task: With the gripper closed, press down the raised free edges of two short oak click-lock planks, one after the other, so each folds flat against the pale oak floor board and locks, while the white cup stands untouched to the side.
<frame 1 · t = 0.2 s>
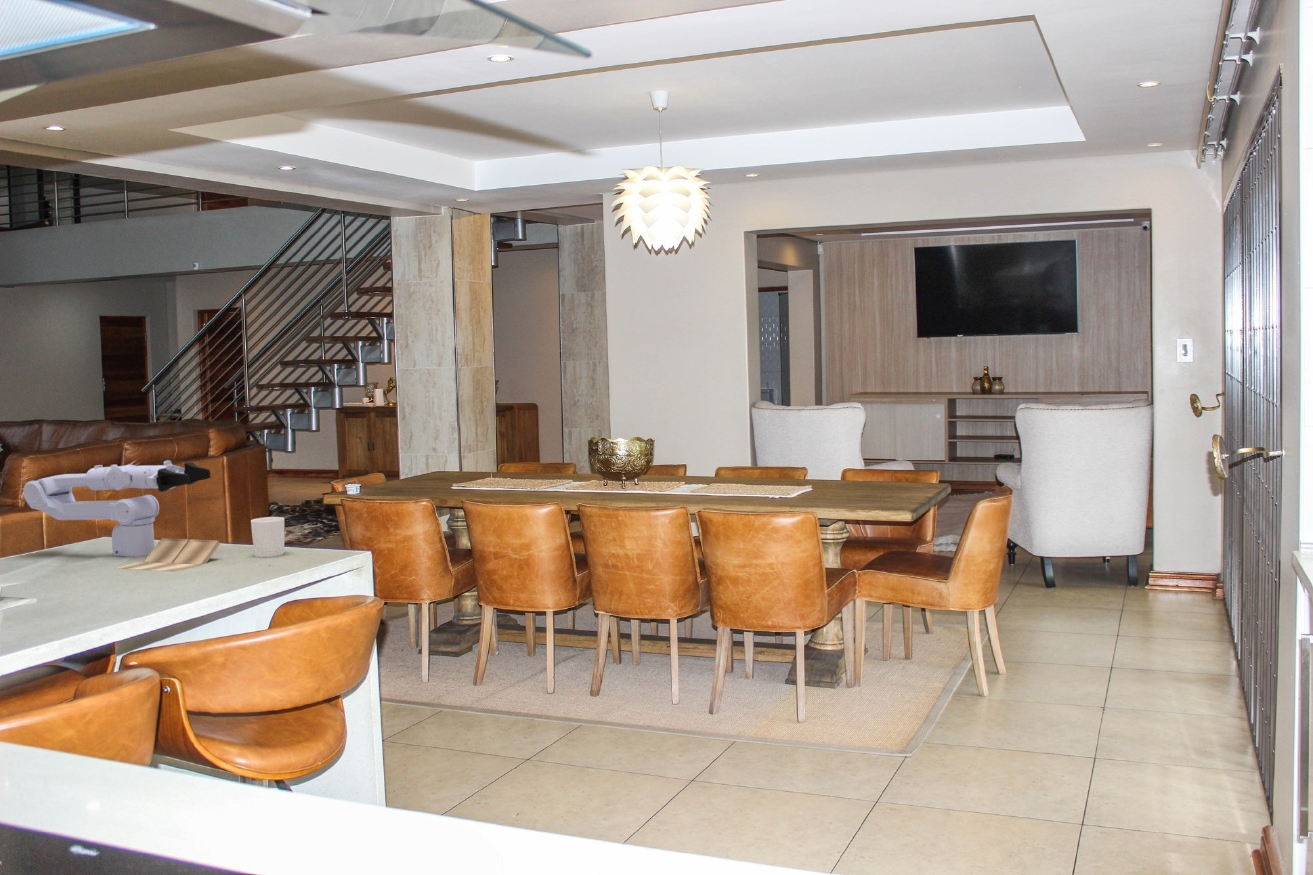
hand: (198, 476, 279), 21 cm above the table, tool horizontal, fingers open, 7 cm apart
floor board: (158, 571, 269), on the table
white cup: (269, 560, 282), on the table
plank b: (196, 553, 275), point 3 cm above the table, hinge at 35.0°
plank a: (167, 552, 278), point 3 cm above the table, hinge at 35.0°
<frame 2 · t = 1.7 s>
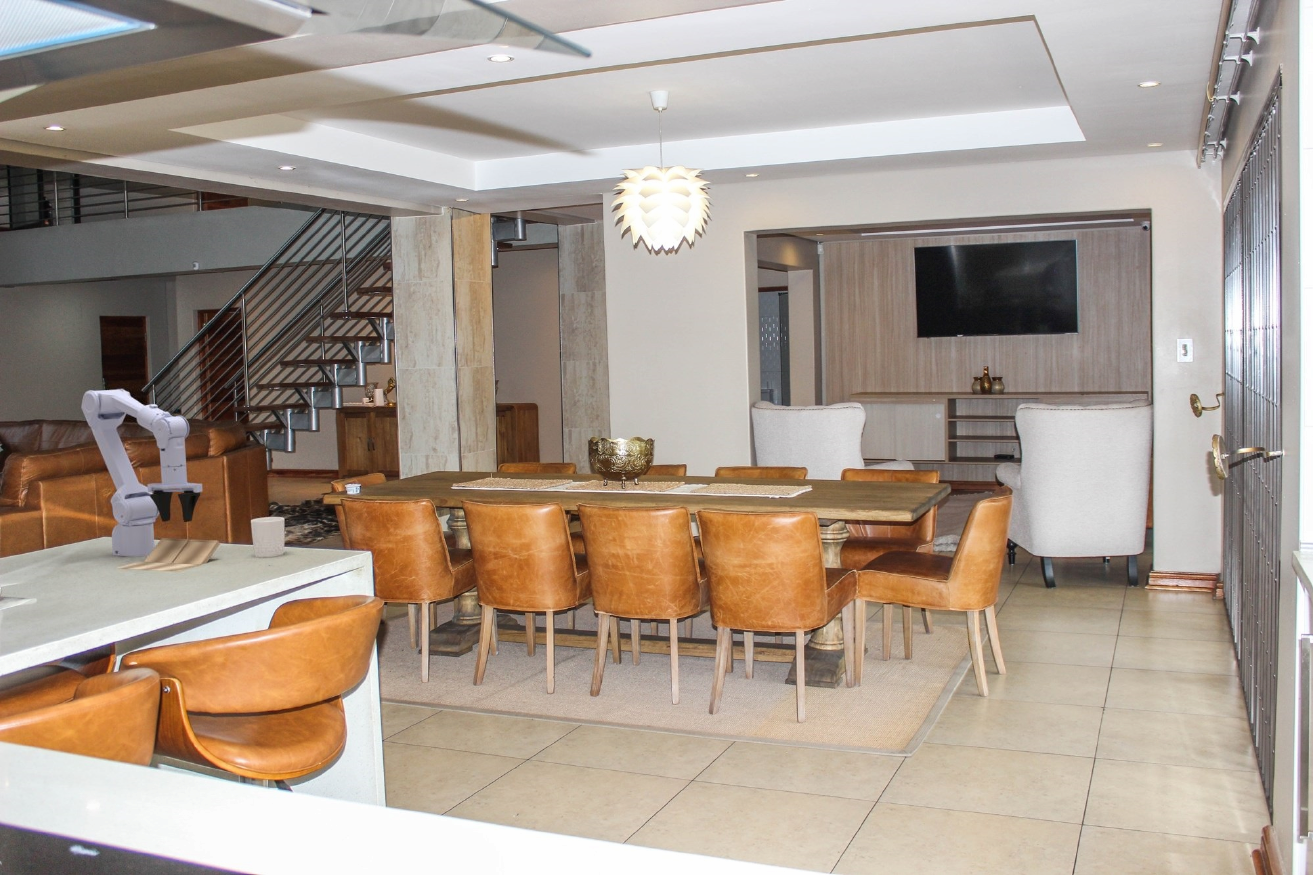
hand: (177, 521, 278), 10 cm above the table, tool pointing down, fingers open, 6 cm apart
nothing on the table moved.
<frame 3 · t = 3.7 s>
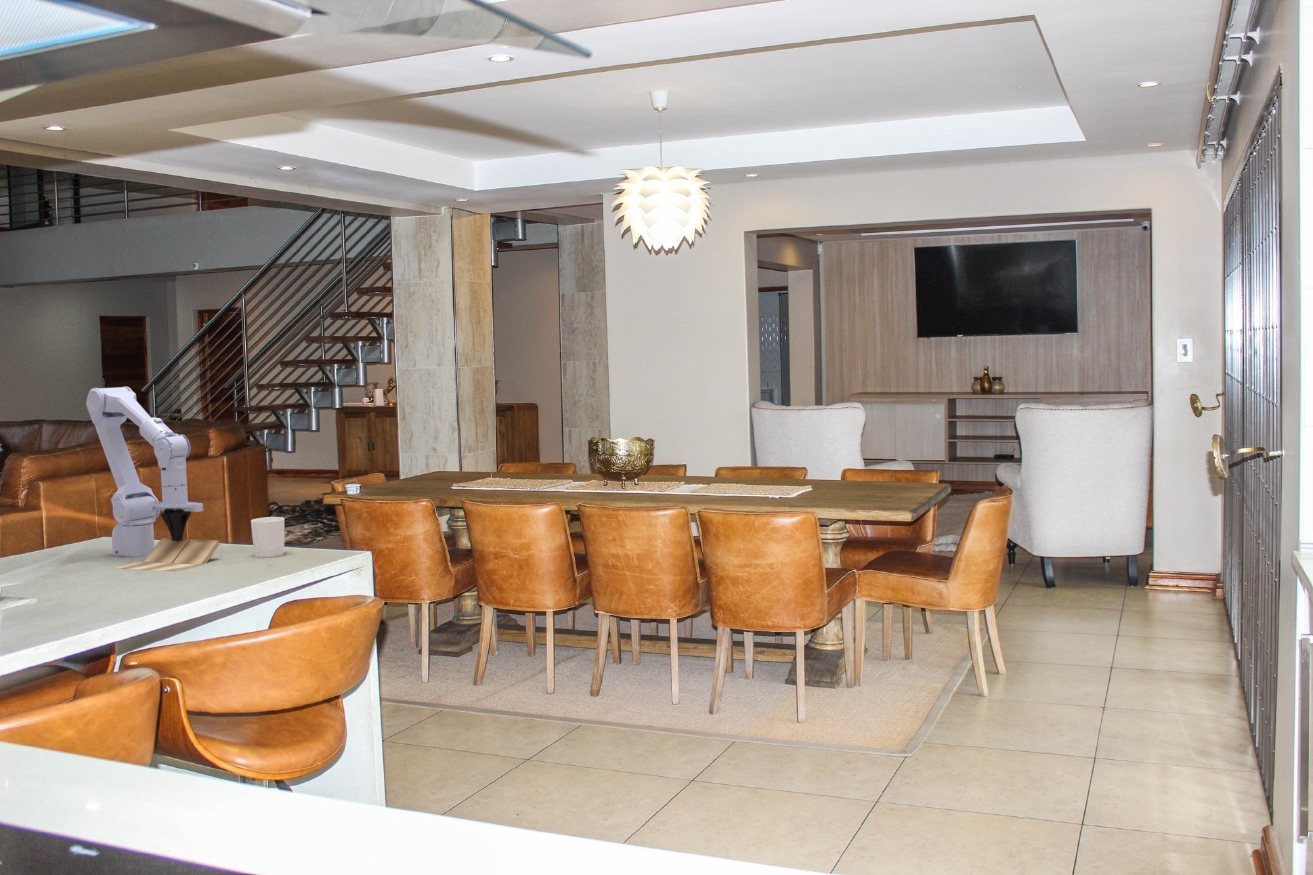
hand: (177, 540, 279), 6 cm above the table, tool pointing down, fingers closed, pressing on plank a
plank a: (167, 552, 278), point 3 cm above the table, hinge at 34.8°, touching gripper
everything else where it was.
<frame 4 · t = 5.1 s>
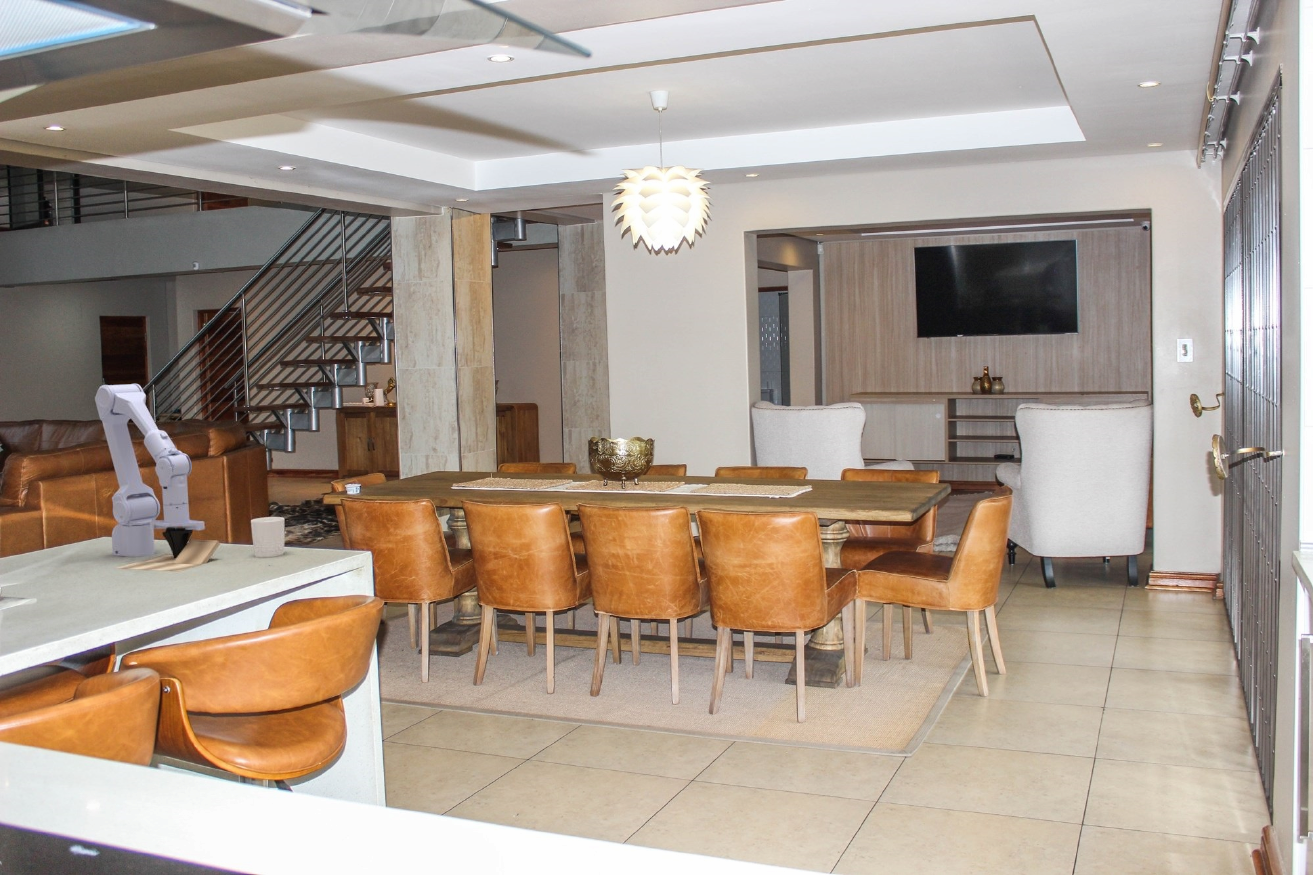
hand: (179, 558, 279), 1 cm above the table, tool pointing down, fingers closed, pressing on plank a
plank a: (169, 560, 278), point 1 cm above the table, hinge at 2.3°, touching gripper
everything else where it was.
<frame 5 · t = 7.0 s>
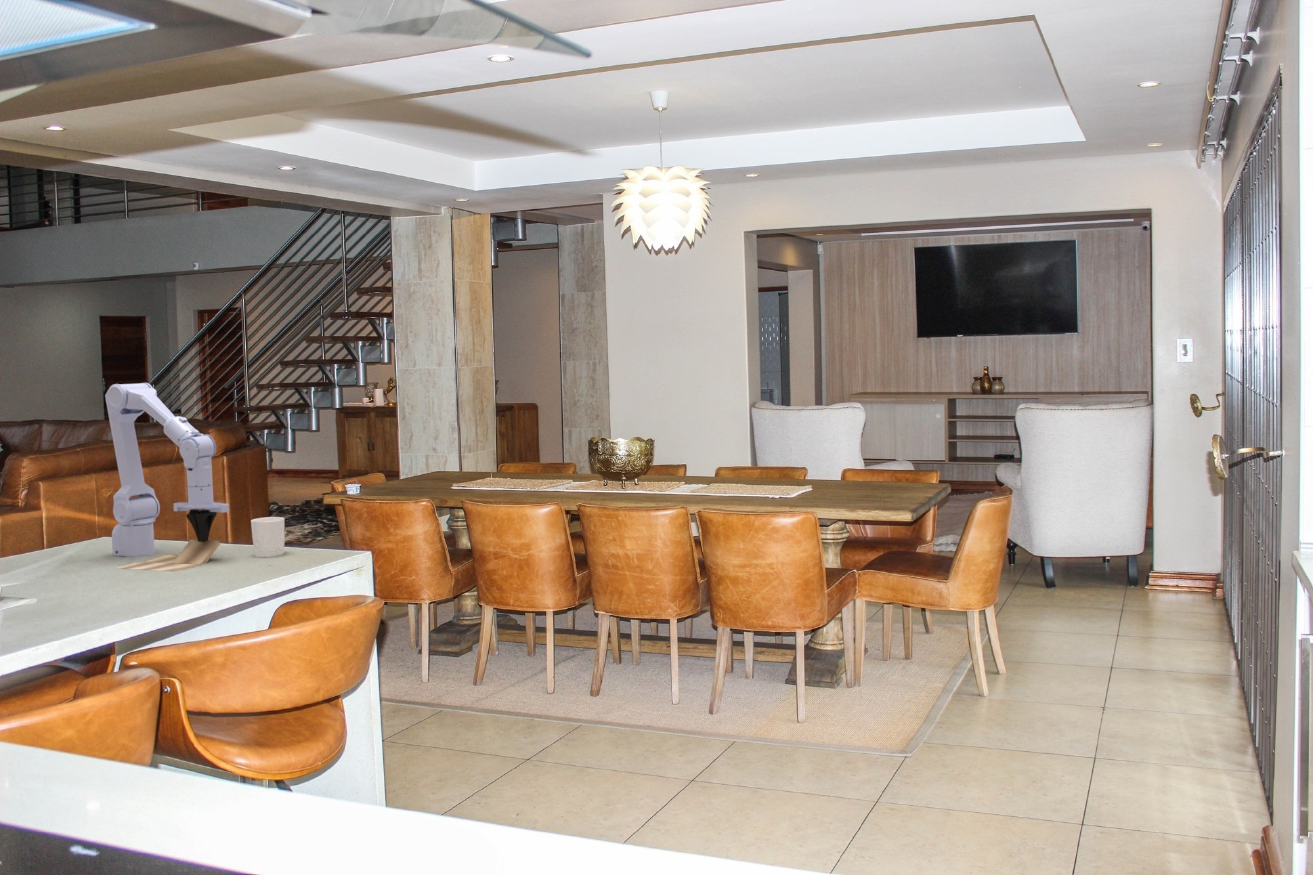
hand: (203, 541, 277), 6 cm above the table, tool pointing down, fingers closed, pressing on plank b
plank b: (196, 553, 275), point 3 cm above the table, hinge at 34.9°, touching gripper
plank a: (169, 560, 278), point 1 cm above the table, hinge at 2.2°
everything else where it was.
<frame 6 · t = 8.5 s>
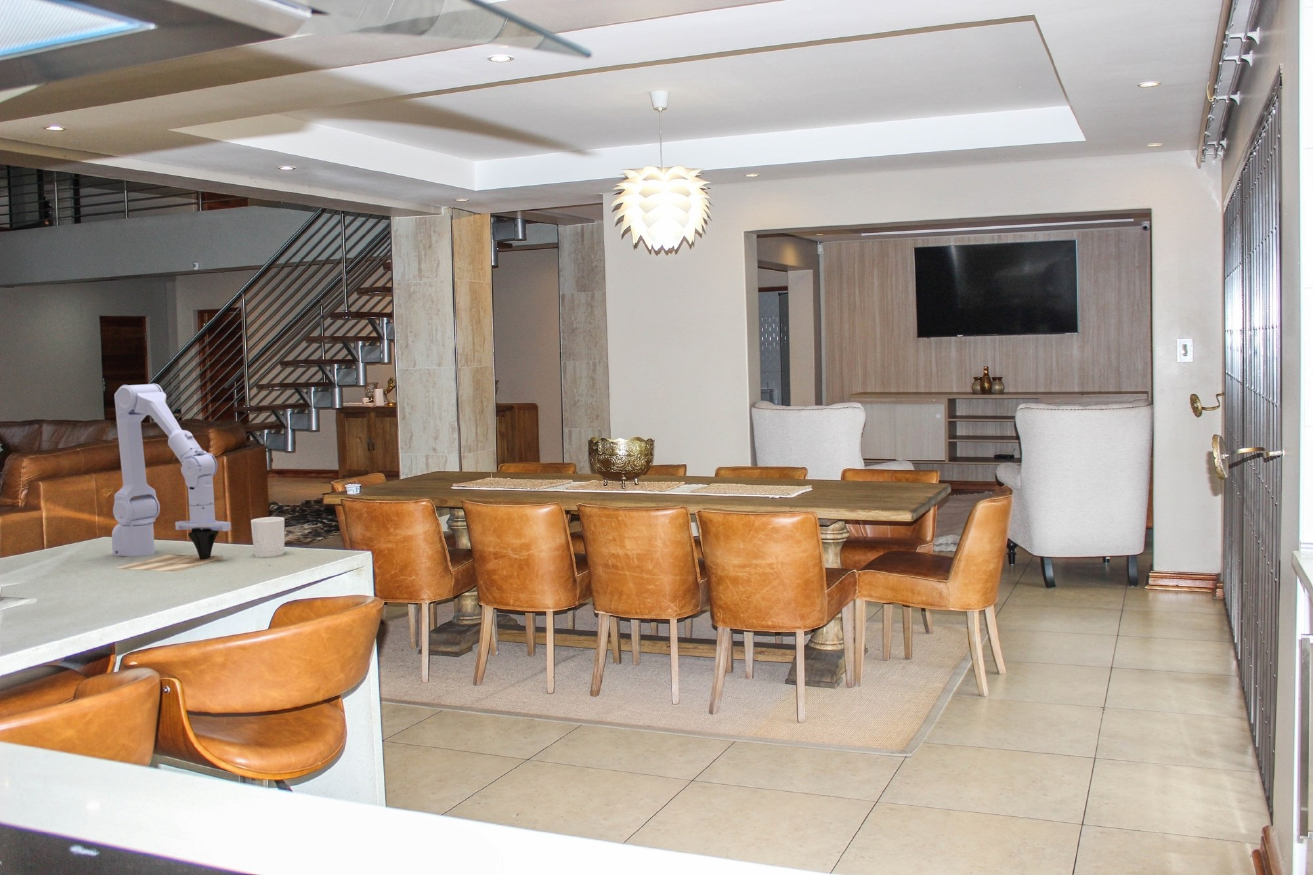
hand: (205, 559, 277), 1 cm above the table, tool pointing down, fingers closed, pressing on plank b
plank b: (198, 562, 276), point 1 cm above the table, hinge at 2.9°, touching gripper
everything else where it was.
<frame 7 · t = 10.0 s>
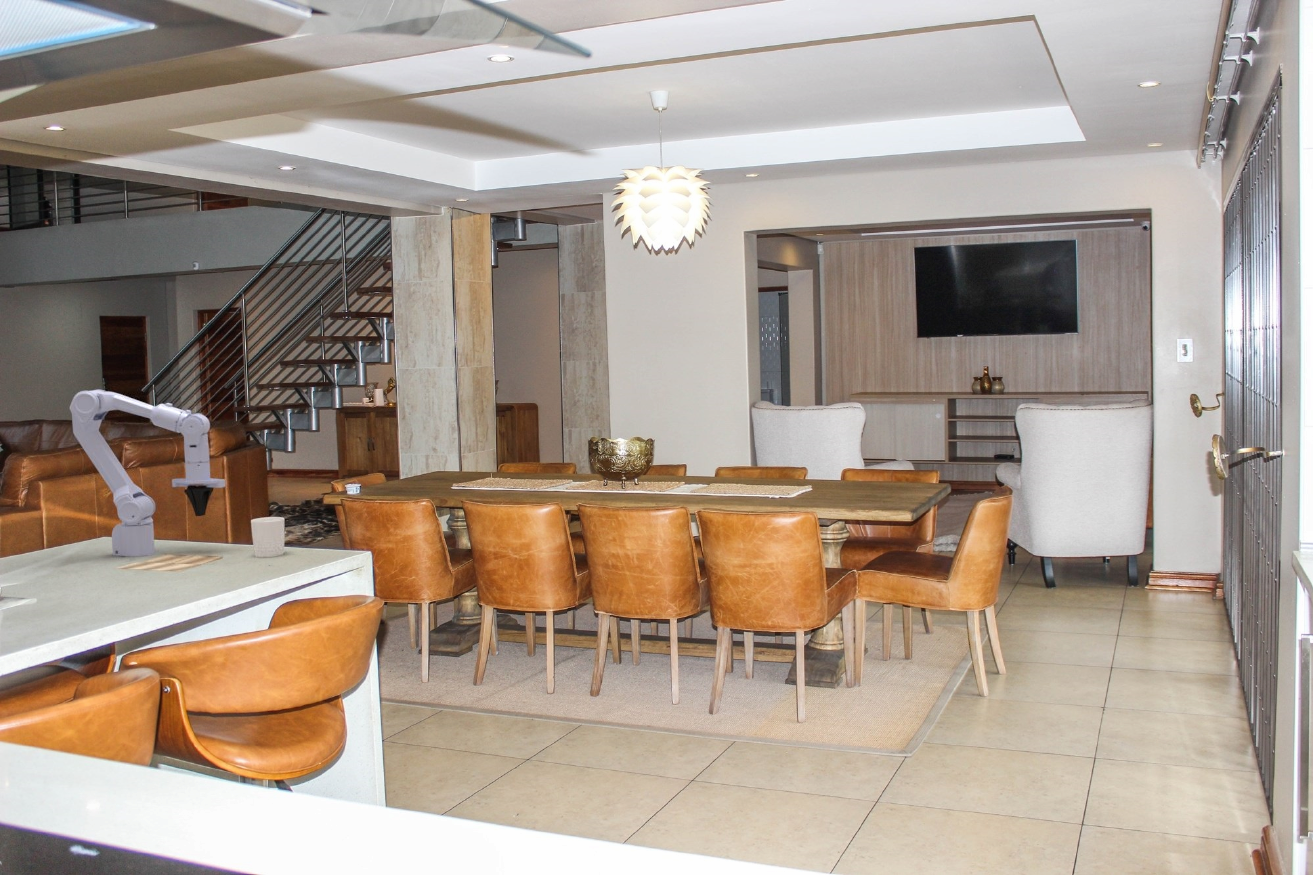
hand: (200, 515, 287), 10 cm above the table, tool pointing down, fingers closed
plank b: (198, 562, 276), point 1 cm above the table, hinge at 2.8°
everything else where it was.
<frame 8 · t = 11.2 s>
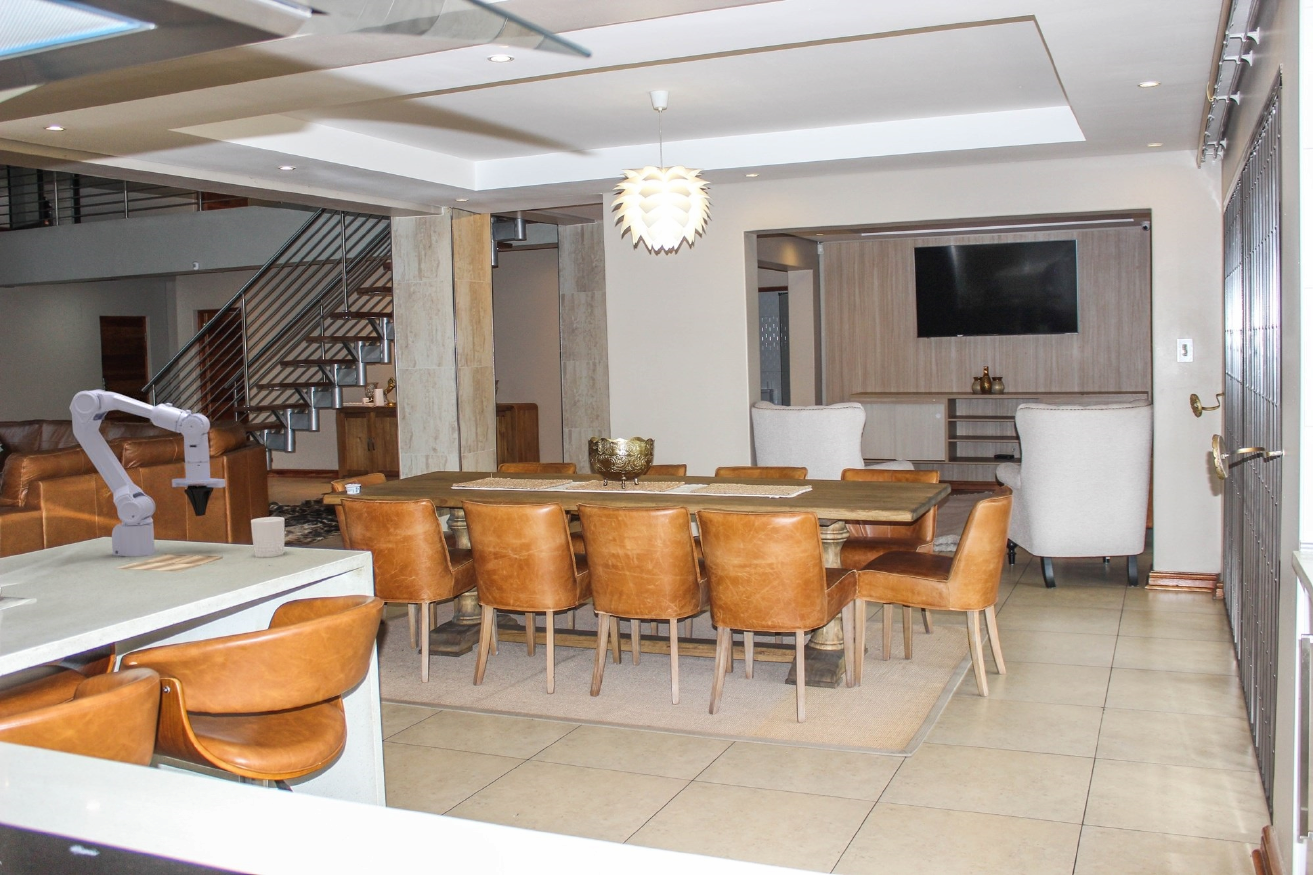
hand: (200, 515, 287), 10 cm above the table, tool pointing down, fingers closed
nothing on the table moved.
at the end: plank a at +2° (first picture: +35°); plank b at +3° (first picture: +35°) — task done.
